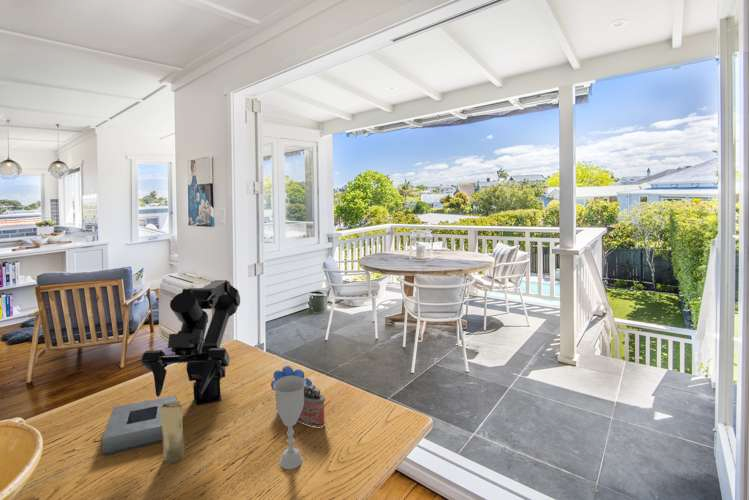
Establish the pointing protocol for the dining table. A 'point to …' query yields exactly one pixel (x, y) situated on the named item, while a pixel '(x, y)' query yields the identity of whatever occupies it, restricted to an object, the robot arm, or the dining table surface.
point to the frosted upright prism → (172, 432)
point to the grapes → (289, 372)
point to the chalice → (290, 414)
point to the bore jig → (134, 425)
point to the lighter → (312, 407)
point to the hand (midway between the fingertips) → (179, 394)
